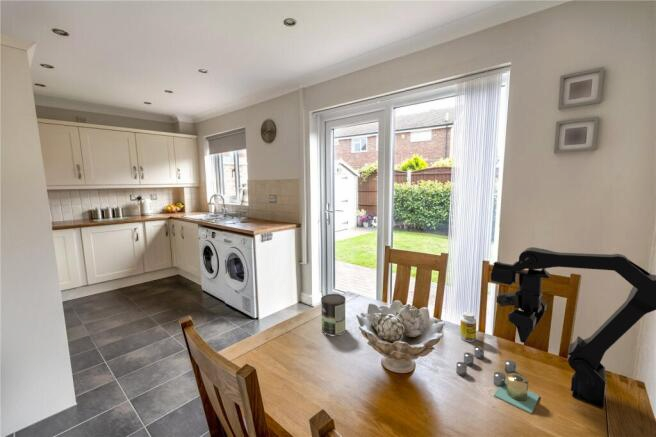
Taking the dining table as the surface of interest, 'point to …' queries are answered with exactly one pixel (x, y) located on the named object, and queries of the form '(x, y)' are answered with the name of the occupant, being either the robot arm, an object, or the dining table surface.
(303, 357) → the dining table surface
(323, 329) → the coffee can
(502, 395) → the mat
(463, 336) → the supplement bottle
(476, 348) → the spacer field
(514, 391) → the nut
